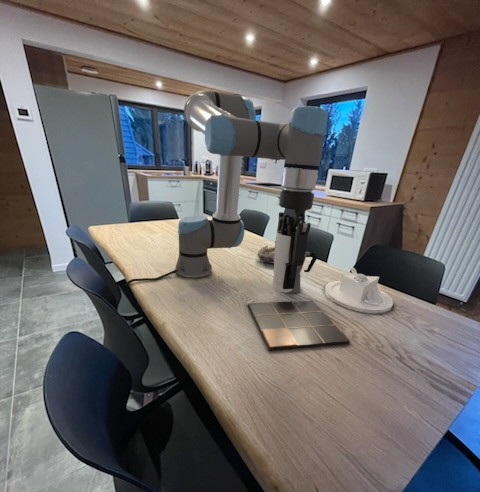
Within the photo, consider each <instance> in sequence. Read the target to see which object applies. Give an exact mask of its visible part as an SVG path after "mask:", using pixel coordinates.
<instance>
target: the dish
mask: <svg viewBox="0 0 480 492" xmlns="http://www.w3.org/2000/svg"><path fill="white" fill-rule="evenodd" d="M350 270H351V273H352V275H351V274H343V275H342V277H341V280H335V281H329V282H328V283H327V284H326V285H325V287H324V294H325V296H326V297H327V298H328V299H329V300H331V301H332V302H333V303H335V304H336V305H339V306H341V307H343V308H346V309H349V310H351V311H356V312H359V313H365V314H384V313H387V312H388V311H391V309H392V307H393V306H394V305H393V304H394V300H393V298H392V297H391V296H390V295H389V294H388V293H387V292H385V291H383V290H382V289H380V288H379V287H378V286H377V285H378V283H379V279H380V276H372V275H371V276H370V275H365V274H363V273H358V272H357V269H356V268H355V267H353V266H350Z"/></svg>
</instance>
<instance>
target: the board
mask: <svg viewBox="0 0 480 492" xmlns="http://www.w3.org/2000/svg"><path fill="white" fill-rule="evenodd" d="M247 304H248V305H247V306H248V309H249V311H250V312H251V315H252V317H253V319H254V321H255V323H256V325H257V327H258V329H259V331H260V334H261V336H262V338H263V339H264V343H265V344H266V346H267V348H268V351H270V352H271V351H283V350H294V349H305V348H315V347H328V346H338V345H339V346H340V345H349V344H350V342H351V341H350V339H349V338H348V337H347V336H346V335H345V334H344V333H343V332H342V331H341V330H340V329H339V328H338V326H337V325H336V324H335V323H334V322H333V321H332V320H331V319H330V318H329V317H328V315H326V314H325V313H324V311H323V310H322V309H321V308H320V307H319V306H318V305H317V304H316V303H315V302H314V301H313V300H294V301H293V300H291V301H270V302H269V301H268V302H251V303H250V302H249V303H247Z"/></svg>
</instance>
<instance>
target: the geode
mask: <svg viewBox="0 0 480 492" xmlns="http://www.w3.org/2000/svg"><path fill="white" fill-rule="evenodd" d="M274 256H275V247H274V246H273V247H272V246H270V247H269V245H265V246H263V247H262V248H260V249H258V251H257V254H256V257H258V258H259V260H260V261H261V262H263V263H264V262H266V263H269V264H274Z"/></svg>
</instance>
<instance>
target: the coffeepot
mask: <svg viewBox="0 0 480 492" xmlns="http://www.w3.org/2000/svg"><path fill="white" fill-rule="evenodd" d="M306 258H311V259H310V262H309V264H308V266H307V269H303V267H304V265H303V266H298V269H297V273H296V279H295V285H294V289H292V291H290V292H285V293H286V294H297V293H300V290H301V272H302V270H303V272H304V273H309V272H310V271H311V270H312V268H313V266H314V264H315V263H316V261H317V260H318V256H317V254H316V252H314V251H305V258H304V262H305V260H306Z"/></svg>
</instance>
